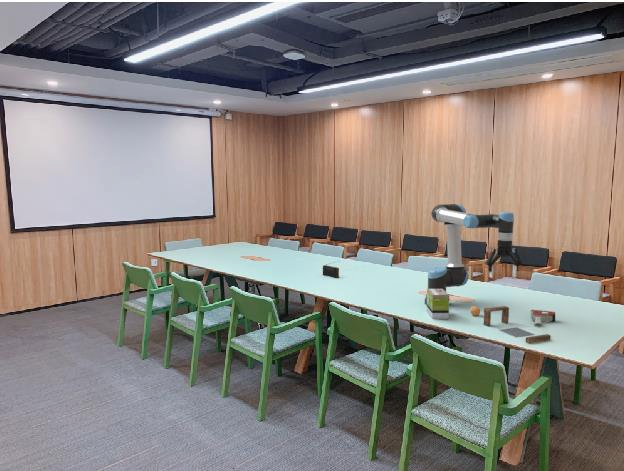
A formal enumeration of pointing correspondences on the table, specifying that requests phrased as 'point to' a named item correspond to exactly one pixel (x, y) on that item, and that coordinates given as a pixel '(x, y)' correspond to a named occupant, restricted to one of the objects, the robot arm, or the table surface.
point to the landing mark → (516, 332)
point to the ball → (475, 311)
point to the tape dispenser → (542, 317)
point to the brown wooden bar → (538, 338)
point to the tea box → (438, 303)
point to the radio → (331, 271)
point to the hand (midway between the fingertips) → (502, 277)
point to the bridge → (488, 310)
